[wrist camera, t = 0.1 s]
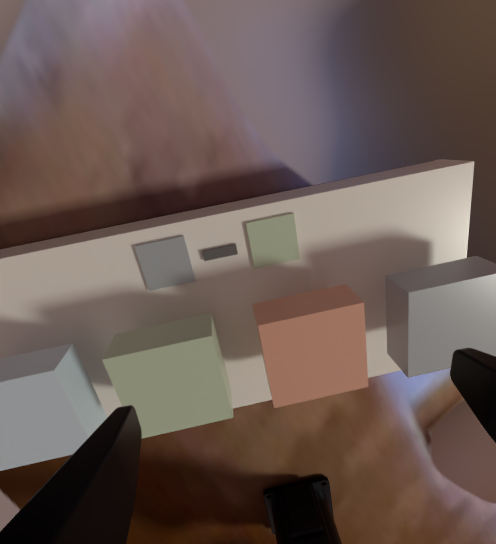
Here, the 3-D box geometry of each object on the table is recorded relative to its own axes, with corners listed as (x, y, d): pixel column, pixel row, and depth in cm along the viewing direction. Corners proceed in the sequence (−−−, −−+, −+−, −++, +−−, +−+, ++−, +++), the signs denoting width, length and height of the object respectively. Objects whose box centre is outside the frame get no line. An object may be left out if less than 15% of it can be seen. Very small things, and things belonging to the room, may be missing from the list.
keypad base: (432, 335, 27) (460, 358, 24) (59, 418, 26) (39, 454, 23) (440, 159, 21) (476, 161, 19) (-30, 255, 20) (-71, 274, 17)
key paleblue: (107, 416, 20) (94, 449, 18) (18, 436, 20) (-6, 472, 18) (73, 343, 18) (54, 370, 16) (-27, 364, 18) (-60, 395, 16)
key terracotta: (351, 361, 21) (368, 386, 19) (267, 380, 21) (274, 408, 19) (345, 284, 19) (364, 302, 17) (252, 304, 19) (258, 325, 16)
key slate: (468, 334, 21) (499, 356, 19) (387, 353, 21) (408, 377, 19) (476, 255, 19) (511, 270, 17) (385, 275, 19) (408, 292, 17)
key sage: (231, 388, 21) (233, 417, 18) (144, 407, 20) (136, 439, 18) (211, 313, 19) (211, 335, 16) (114, 333, 18) (102, 359, 16)
